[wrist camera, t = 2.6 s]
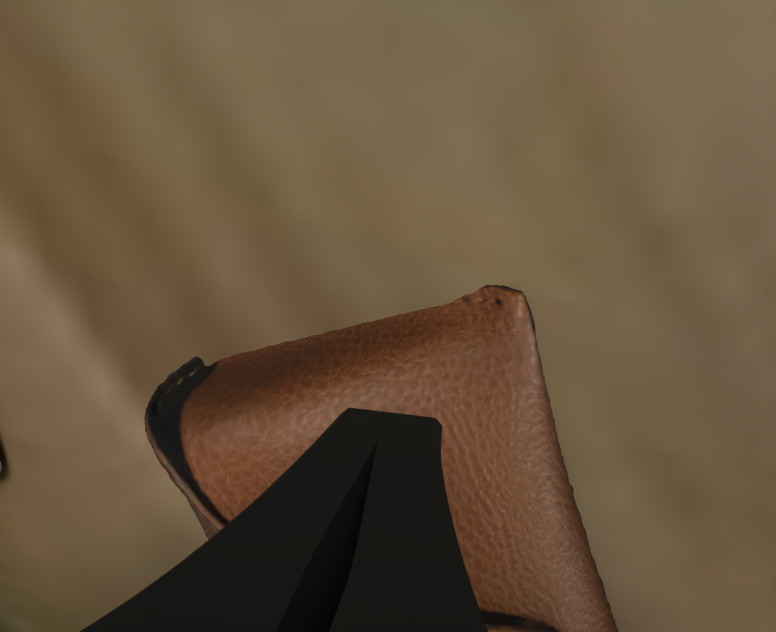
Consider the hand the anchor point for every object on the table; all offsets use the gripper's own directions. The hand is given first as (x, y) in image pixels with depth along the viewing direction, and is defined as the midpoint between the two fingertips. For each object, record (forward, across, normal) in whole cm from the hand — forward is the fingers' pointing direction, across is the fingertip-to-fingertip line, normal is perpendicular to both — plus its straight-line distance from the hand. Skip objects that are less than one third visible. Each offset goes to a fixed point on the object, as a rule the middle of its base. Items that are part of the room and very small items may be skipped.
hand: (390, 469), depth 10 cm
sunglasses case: (+6, -1, +9) cm, 10 cm away
